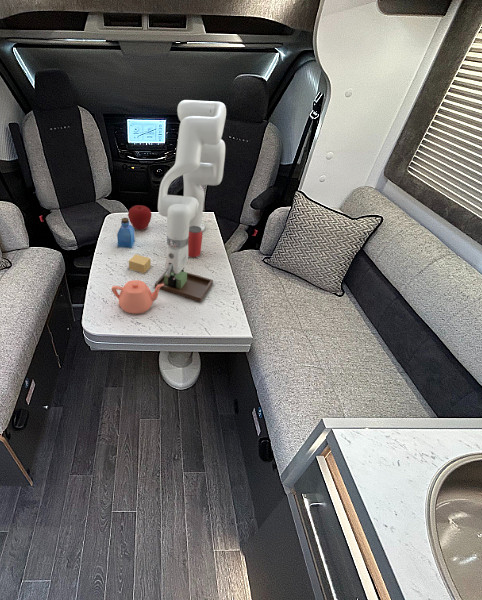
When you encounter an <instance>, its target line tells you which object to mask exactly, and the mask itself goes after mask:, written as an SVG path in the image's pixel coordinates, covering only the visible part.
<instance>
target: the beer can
mask: <svg viewBox="0 0 482 600" xmlns="http://www.w3.org/2000/svg"><path fill="white" fill-rule="evenodd" d="M202 242H203V231H202V229H201V228H200V227H198V226H191V227H189V238H188V258H197V257H200V256H201V254H202V253H201V252H202V244H203V243H202Z"/></svg>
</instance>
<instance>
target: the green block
mask: <svg viewBox="0 0 482 600" xmlns="http://www.w3.org/2000/svg"><path fill="white" fill-rule="evenodd" d="M172 270H173V269H172ZM186 272H187V271H184V272H183V271H181V272H180V273H178V274H176V279H177V280H176V288H179V289H181V288H182V287H183V285H184V284H185V283H186V282H187V273H188V272H187V273H186ZM171 275H173V276H174V273H172V272H171ZM164 284H166V285H168V277H167V276H166V274H165V275H164Z"/></svg>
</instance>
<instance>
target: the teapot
mask: <svg viewBox="0 0 482 600" xmlns="http://www.w3.org/2000/svg"><path fill="white" fill-rule="evenodd" d="M163 285H164V284H159V285H157V286H156V288H155V287H154V291H153V292H152V291H151V289H150V288H149V286H148V284H146V283H145V282H144V281H142V280H139V279H133V280H129V281H127V282H126V283H125V284H124V285H123V286H119V285H113V286H112V287H111V291H112V293H113V295H114V296H115V297H116V298H117V299H118V306H119V307H120V309H122V310H123V311H124V312H126V313H127V314H132V315H133V314H134V315H138V314H139V315H140V314H143V313H146V312H147V311H149V309H150V308H151V307H152V305H153V304H154V303H153V302H155V301H156V300H157V299H158V297H159V293H160V290H159V289H160V287H162V286H163ZM118 291H120V292H119V293H118Z"/></svg>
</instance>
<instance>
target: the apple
mask: <svg viewBox="0 0 482 600" xmlns="http://www.w3.org/2000/svg"><path fill="white" fill-rule="evenodd" d="M152 216H153V215H152V211H151V209H150V208H149V207H147V206H146V205H140V204H137V205H134V206H131V208H129V210H128V213H127V218H128V219H129V220H128V221H129V223H130V225H131V226H132V227H133V228H134V230H135V229H136V231H143V230H145V229H147V228H148V227H149V225H150V223H151V221H152Z"/></svg>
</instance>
